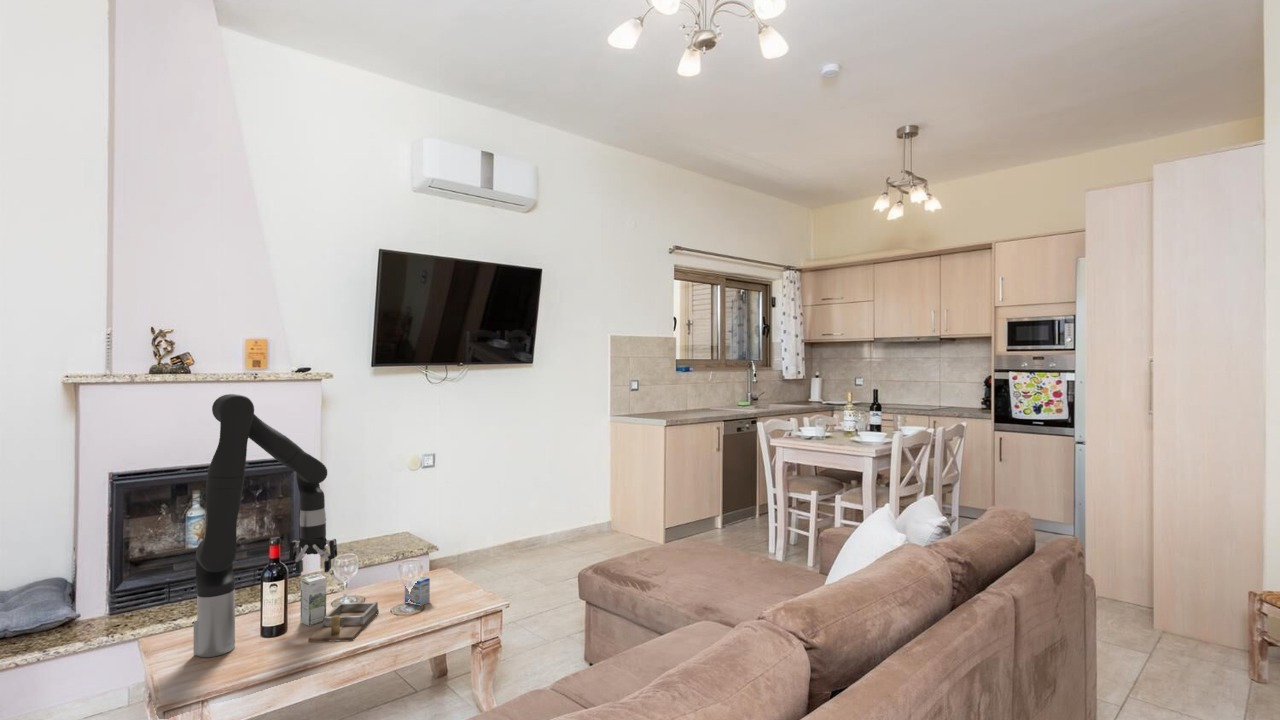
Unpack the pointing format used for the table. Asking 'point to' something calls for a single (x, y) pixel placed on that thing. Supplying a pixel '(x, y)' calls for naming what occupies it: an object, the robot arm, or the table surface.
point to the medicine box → (419, 592)
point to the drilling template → (345, 621)
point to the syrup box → (313, 599)
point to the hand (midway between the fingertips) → (313, 572)
